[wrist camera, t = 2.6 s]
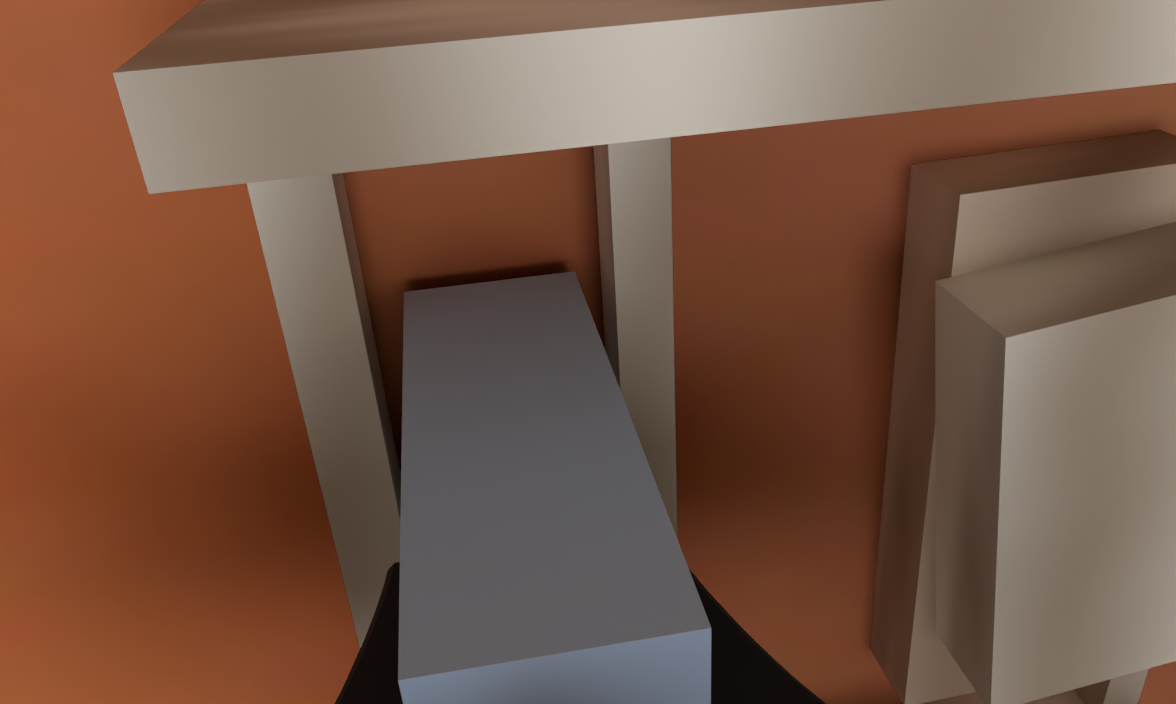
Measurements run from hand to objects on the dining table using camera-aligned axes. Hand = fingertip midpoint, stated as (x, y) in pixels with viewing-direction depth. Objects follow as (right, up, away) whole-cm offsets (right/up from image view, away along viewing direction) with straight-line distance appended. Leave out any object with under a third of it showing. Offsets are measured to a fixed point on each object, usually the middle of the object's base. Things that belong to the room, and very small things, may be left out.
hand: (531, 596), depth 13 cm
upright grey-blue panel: (0, +1, +2) cm, 2 cm away
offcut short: (+8, +2, +2) cm, 9 cm away
